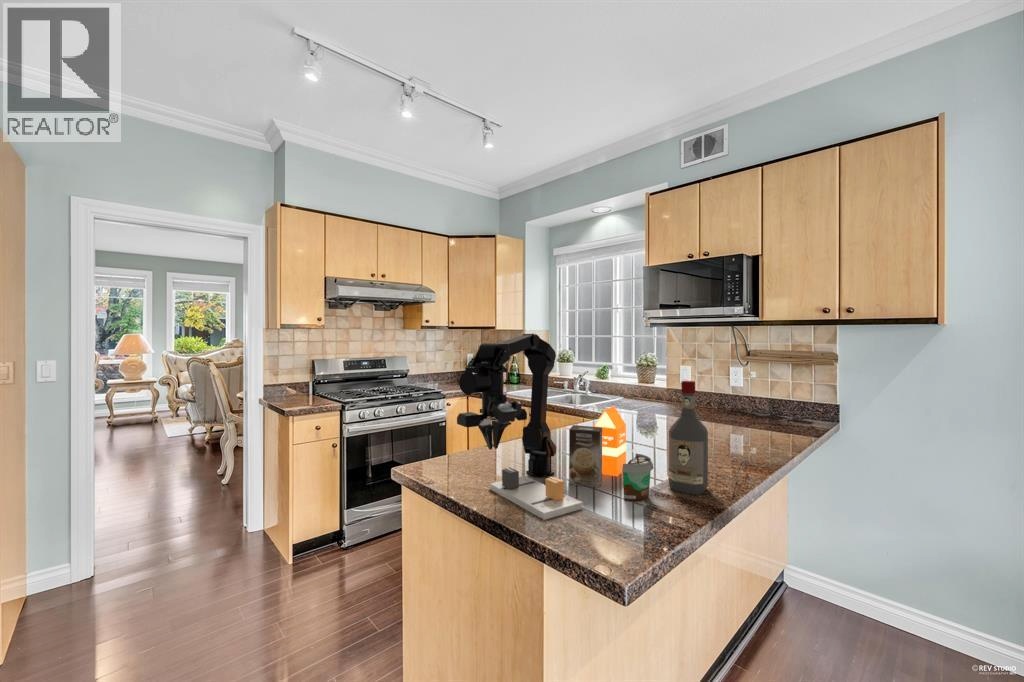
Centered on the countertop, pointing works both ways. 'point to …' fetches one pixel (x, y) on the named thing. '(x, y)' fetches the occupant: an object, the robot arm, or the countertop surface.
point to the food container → (637, 478)
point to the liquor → (688, 447)
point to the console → (536, 498)
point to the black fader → (510, 478)
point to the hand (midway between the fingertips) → (493, 448)
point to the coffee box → (585, 455)
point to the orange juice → (612, 441)
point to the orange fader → (554, 488)
